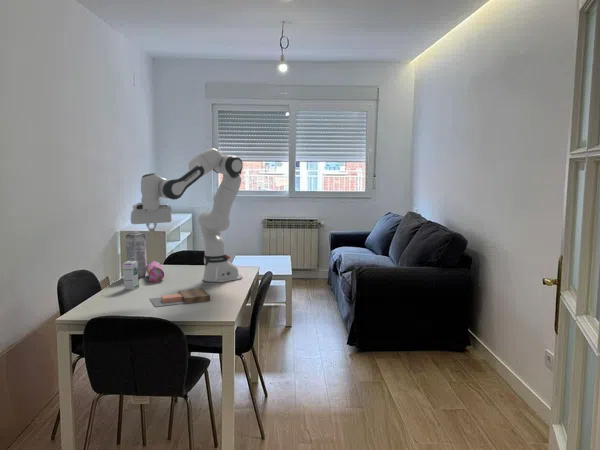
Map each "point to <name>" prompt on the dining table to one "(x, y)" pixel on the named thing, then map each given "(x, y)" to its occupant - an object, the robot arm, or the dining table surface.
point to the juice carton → (137, 250)
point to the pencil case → (155, 271)
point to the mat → (158, 303)
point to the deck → (194, 295)
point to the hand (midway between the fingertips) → (151, 232)
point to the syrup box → (131, 275)
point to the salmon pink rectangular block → (171, 298)
